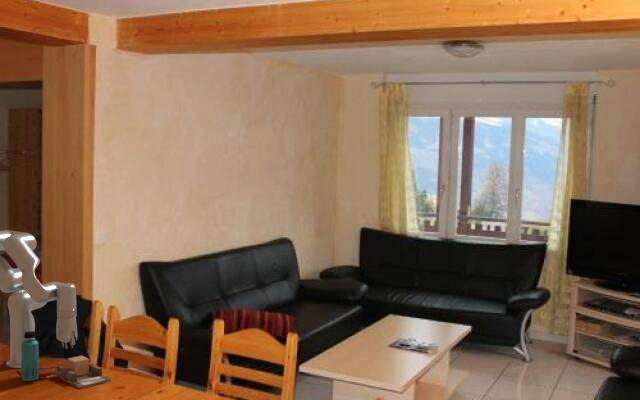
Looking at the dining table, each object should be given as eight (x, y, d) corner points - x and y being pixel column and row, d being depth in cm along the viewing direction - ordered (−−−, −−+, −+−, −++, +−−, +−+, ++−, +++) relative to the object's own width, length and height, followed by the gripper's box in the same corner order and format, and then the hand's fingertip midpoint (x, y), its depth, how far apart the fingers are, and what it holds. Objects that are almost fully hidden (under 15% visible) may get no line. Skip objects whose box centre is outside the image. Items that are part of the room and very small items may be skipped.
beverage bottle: (32, 385, 259) (32, 334, 258) (17, 383, 260) (17, 333, 259) (42, 380, 265) (42, 330, 264) (27, 378, 266) (27, 329, 265)
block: (67, 373, 271) (67, 358, 270) (81, 369, 275) (81, 355, 275) (74, 376, 267) (74, 361, 266) (88, 373, 271) (89, 359, 270)
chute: (56, 376, 270) (56, 366, 270) (86, 369, 280) (86, 360, 279) (79, 389, 256) (79, 378, 256) (110, 381, 266) (110, 371, 266)
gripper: (49, 312, 279) (51, 355, 280) (66, 317, 269) (67, 362, 270) (67, 309, 285) (68, 352, 286) (84, 314, 274) (85, 358, 275)
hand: (68, 357), depth 278 cm, fingers closed
